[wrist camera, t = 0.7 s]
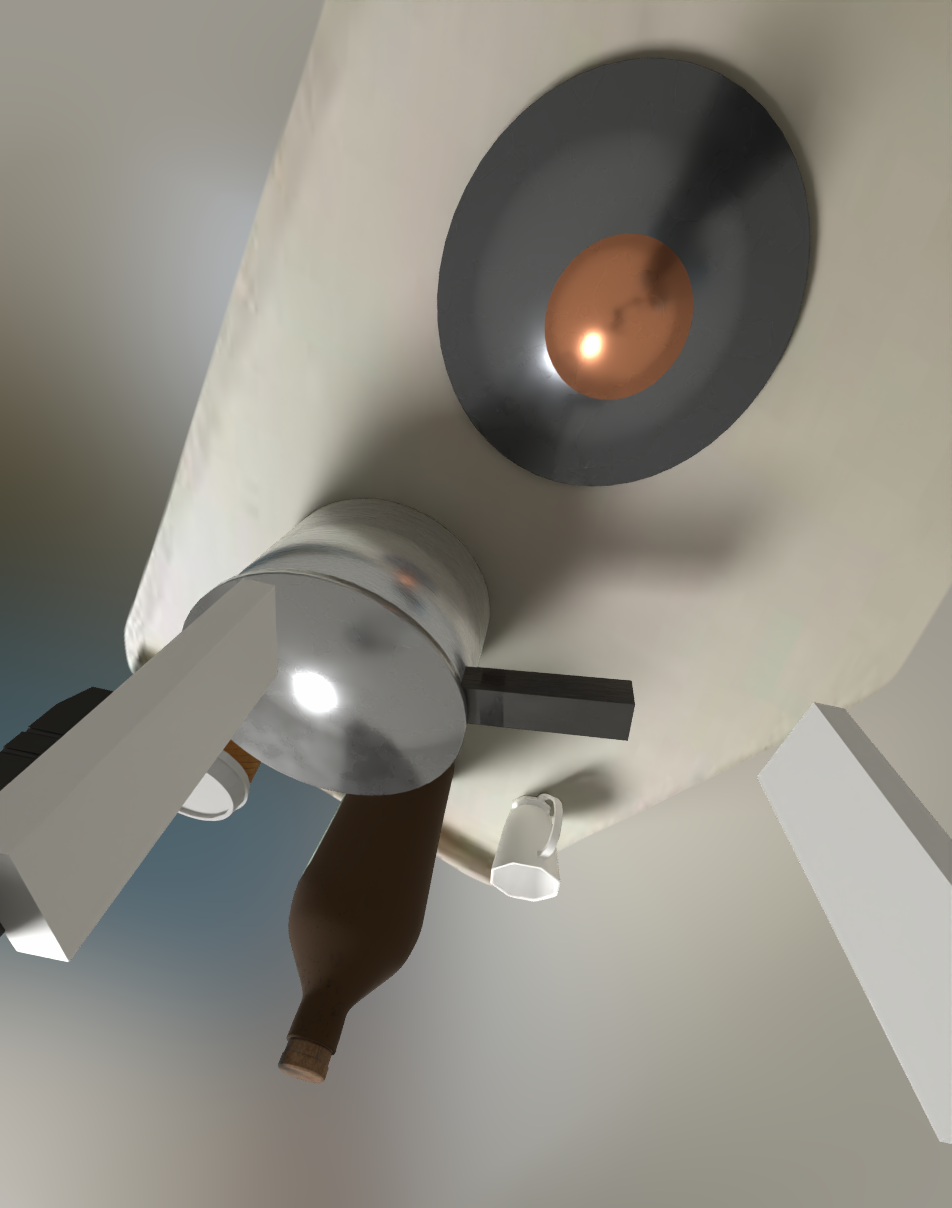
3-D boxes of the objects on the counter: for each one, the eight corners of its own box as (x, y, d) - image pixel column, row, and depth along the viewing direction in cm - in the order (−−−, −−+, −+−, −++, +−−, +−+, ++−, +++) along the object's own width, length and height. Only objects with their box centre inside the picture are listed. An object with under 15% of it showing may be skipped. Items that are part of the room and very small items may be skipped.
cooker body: (635, 501, 32) (661, 598, 22) (604, 702, 42) (613, 830, 32) (251, 491, 36) (129, 566, 26) (307, 674, 46) (235, 778, 37)
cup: (489, 810, 54) (476, 884, 47) (529, 763, 48) (522, 839, 41) (544, 834, 54) (539, 910, 48) (590, 790, 49) (592, 869, 42)
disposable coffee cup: (235, 636, 45) (140, 733, 36) (321, 689, 47) (254, 794, 38) (208, 688, 50) (118, 785, 41) (286, 734, 52) (220, 837, 43)
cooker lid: (867, 38, 20) (1012, -86, 13) (743, 484, 30) (790, 538, 24) (426, 92, 23) (365, 13, 16) (452, 478, 33) (421, 524, 27)
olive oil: (453, 725, 47) (356, 1065, 26) (466, 792, 53) (395, 1115, 32) (353, 720, 49) (194, 1029, 29) (376, 785, 55) (256, 1081, 34)
